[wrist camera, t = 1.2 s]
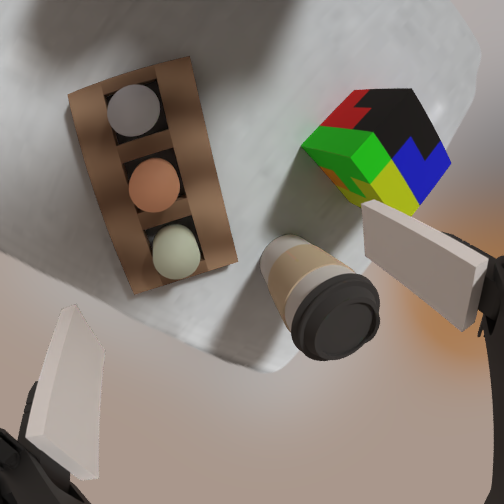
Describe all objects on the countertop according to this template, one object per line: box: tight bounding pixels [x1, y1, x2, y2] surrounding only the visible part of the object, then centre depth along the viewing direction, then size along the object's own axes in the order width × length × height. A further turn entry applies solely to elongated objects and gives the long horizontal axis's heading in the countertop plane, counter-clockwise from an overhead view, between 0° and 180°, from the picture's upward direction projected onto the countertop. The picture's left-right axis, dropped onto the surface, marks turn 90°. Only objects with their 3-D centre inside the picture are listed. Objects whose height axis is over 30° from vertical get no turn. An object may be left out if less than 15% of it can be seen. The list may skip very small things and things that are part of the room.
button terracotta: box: [129, 157, 180, 213], centre depth 27 cm, size 4×4×3 cm
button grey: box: [107, 84, 160, 136], centre depth 24 cm, size 4×4×3 cm
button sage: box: [153, 224, 200, 279], centre depth 30 cm, size 4×4×3 cm
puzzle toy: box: [301, 89, 451, 216], centre depth 31 cm, size 10×10×10 cm
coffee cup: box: [260, 234, 380, 361], centre depth 32 cm, size 9×9×15 cm
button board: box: [68, 56, 238, 295], centre depth 29 cm, size 22×12×2 cm, turn 12°
